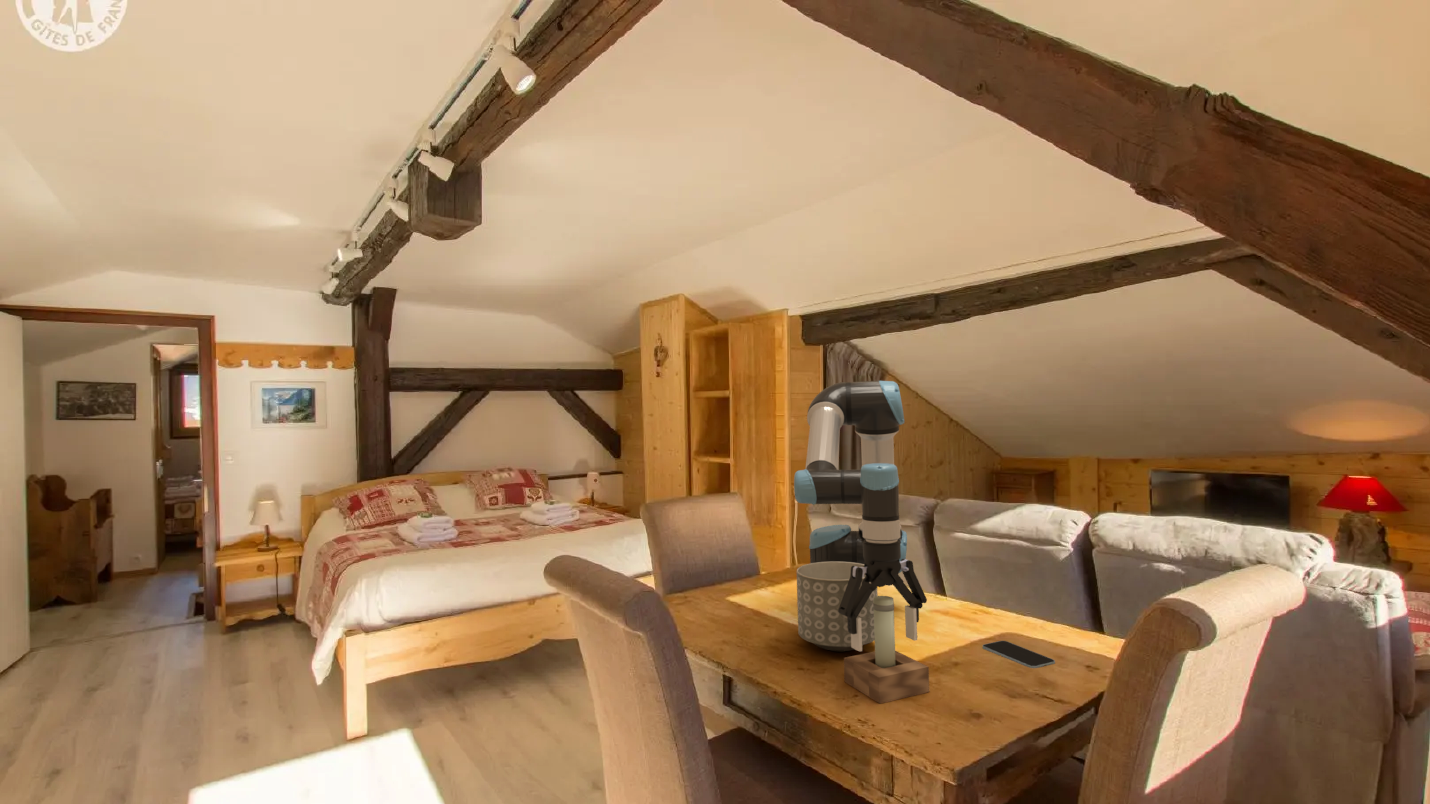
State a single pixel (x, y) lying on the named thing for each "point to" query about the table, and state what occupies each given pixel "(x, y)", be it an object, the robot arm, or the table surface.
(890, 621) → the banded green cylinder
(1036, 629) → the table surface
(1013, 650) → the smartphone
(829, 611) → the planter
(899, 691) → the square wooden socket block
